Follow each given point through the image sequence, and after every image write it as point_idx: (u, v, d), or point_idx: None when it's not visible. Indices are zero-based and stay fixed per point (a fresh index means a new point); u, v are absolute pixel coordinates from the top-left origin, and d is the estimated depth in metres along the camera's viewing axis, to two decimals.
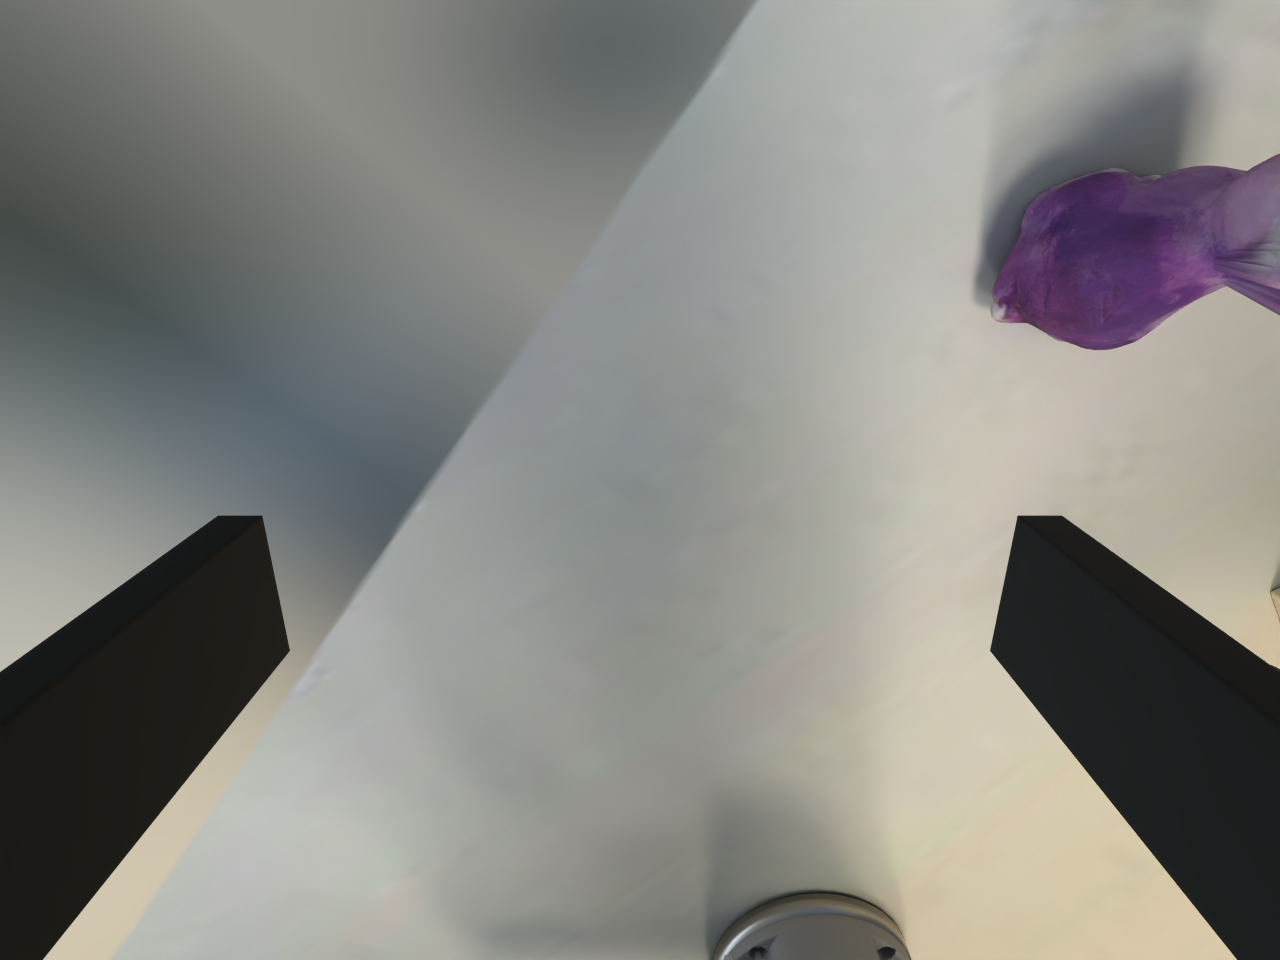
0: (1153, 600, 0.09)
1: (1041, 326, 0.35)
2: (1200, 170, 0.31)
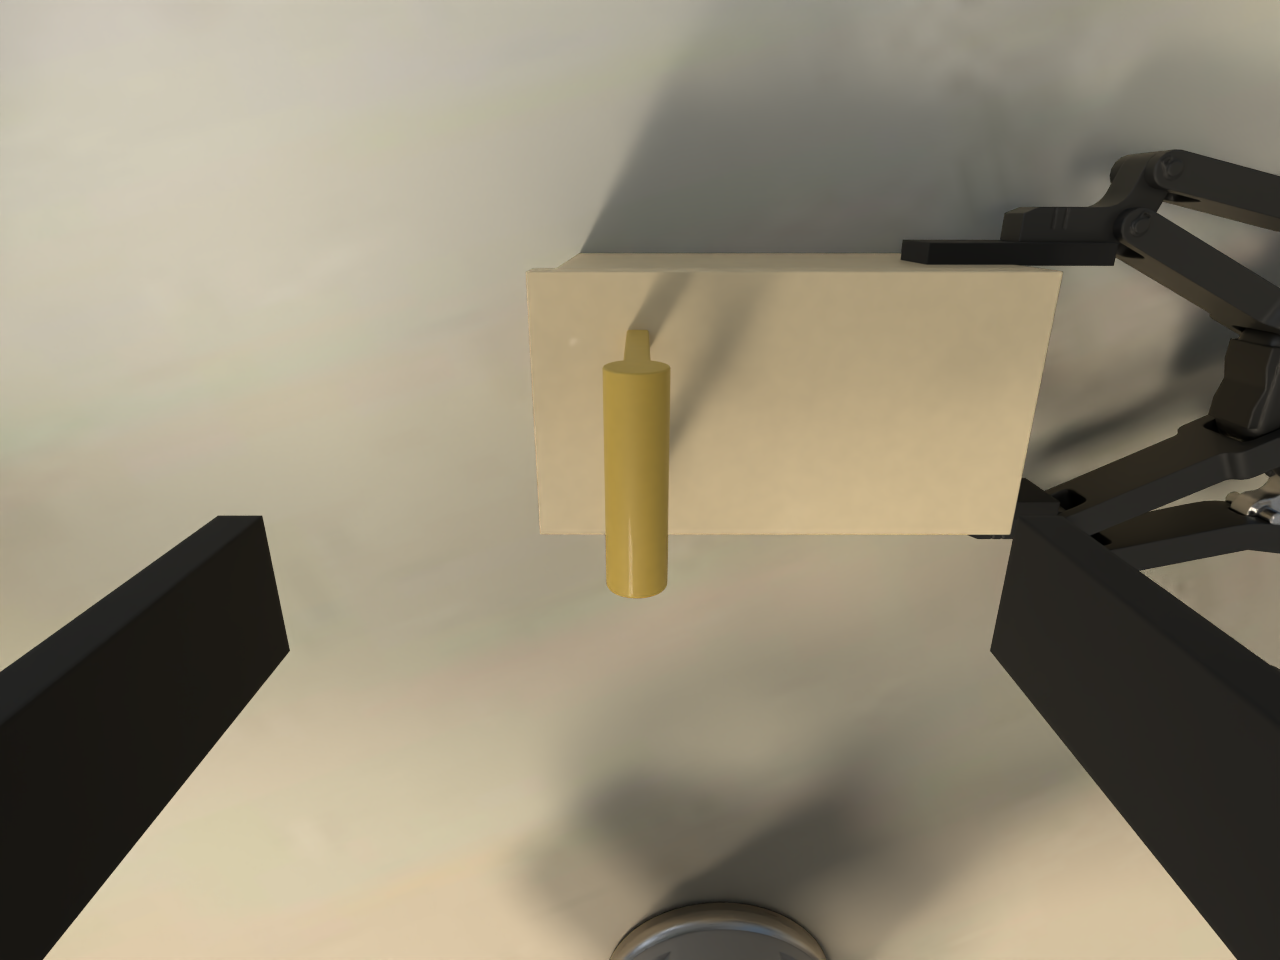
0: (1153, 600, 0.09)
1: None
2: None
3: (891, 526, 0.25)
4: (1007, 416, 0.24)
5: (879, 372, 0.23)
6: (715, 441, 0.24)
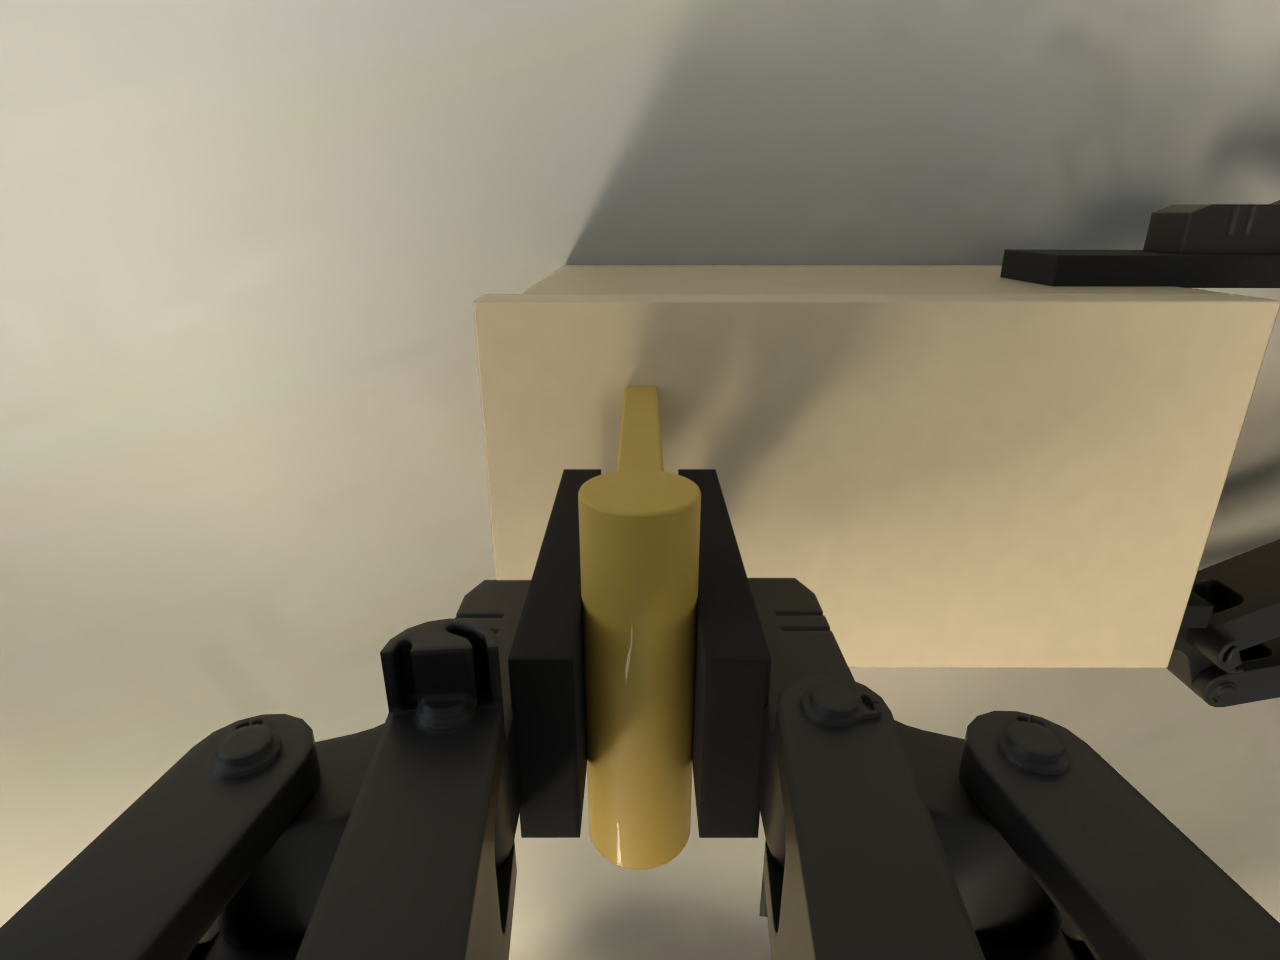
0: (709, 527, 0.12)
1: None
2: None
3: (1000, 657, 0.18)
4: (1178, 508, 0.16)
5: (995, 447, 0.16)
6: (752, 542, 0.17)
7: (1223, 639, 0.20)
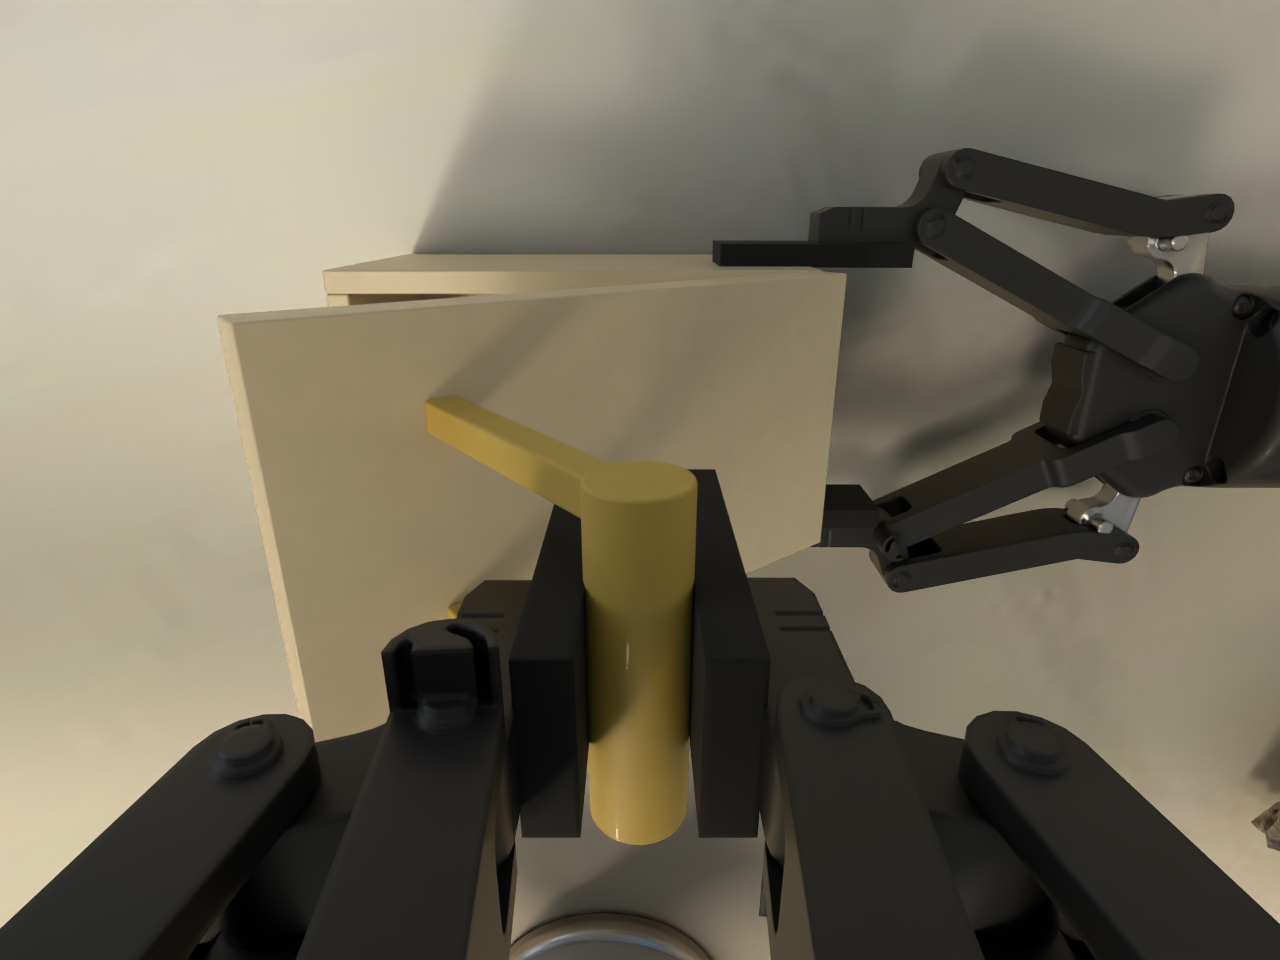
0: (709, 527, 0.12)
1: None
2: None
3: None
4: (815, 426, 0.22)
5: (716, 402, 0.19)
6: None
7: (886, 535, 0.27)
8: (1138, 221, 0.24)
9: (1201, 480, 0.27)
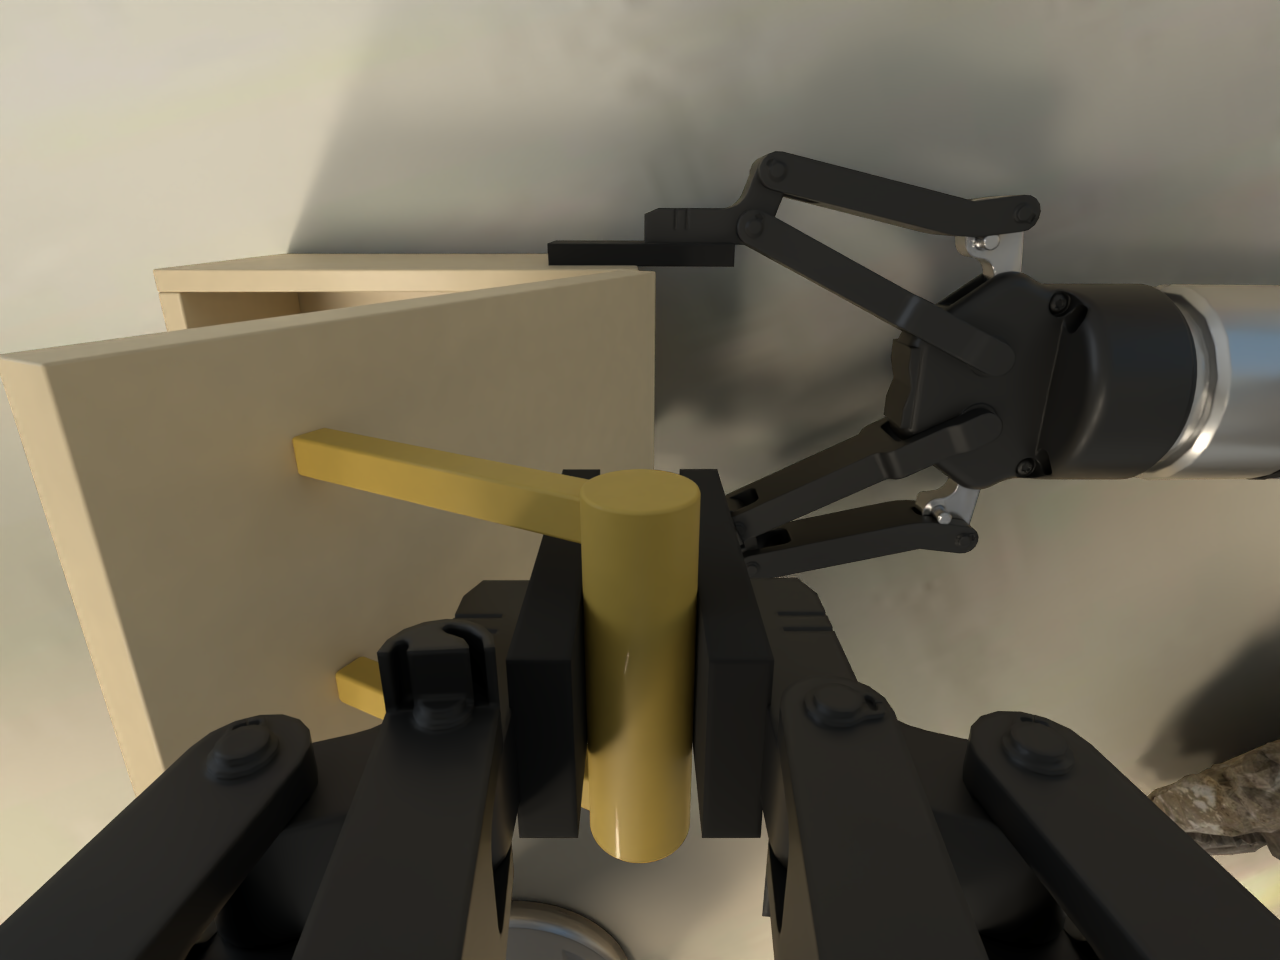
0: (711, 527, 0.12)
1: None
2: None
3: None
4: (642, 419, 0.23)
5: (565, 406, 0.19)
6: (437, 563, 0.16)
7: None
8: (949, 221, 0.24)
9: (1034, 472, 0.28)
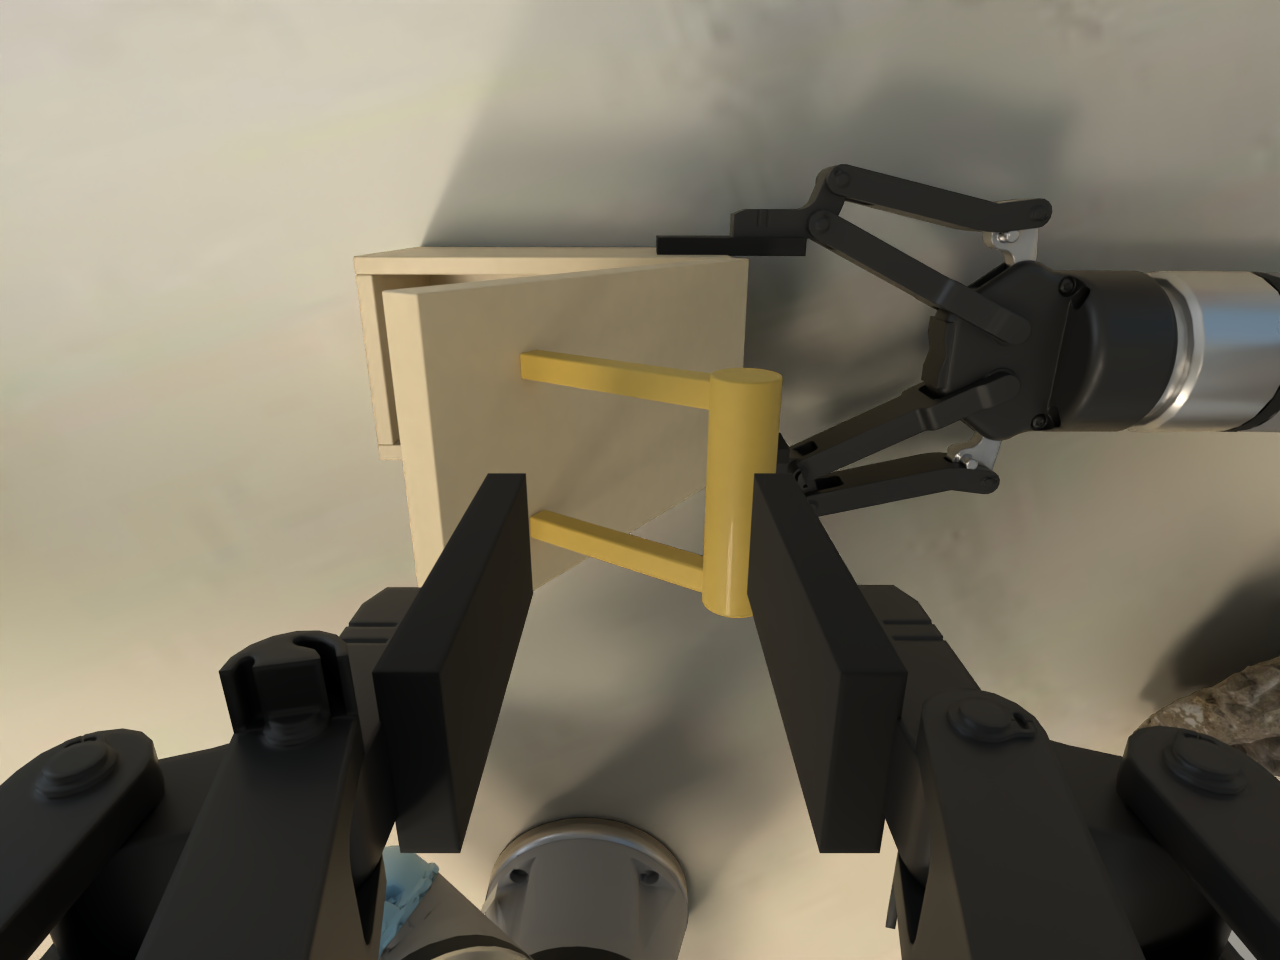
0: (804, 533, 0.11)
1: None
2: None
3: (690, 489, 0.28)
4: None
5: (678, 357, 0.26)
6: (591, 456, 0.22)
7: (795, 468, 0.34)
8: (978, 220, 0.31)
9: (1046, 426, 0.34)
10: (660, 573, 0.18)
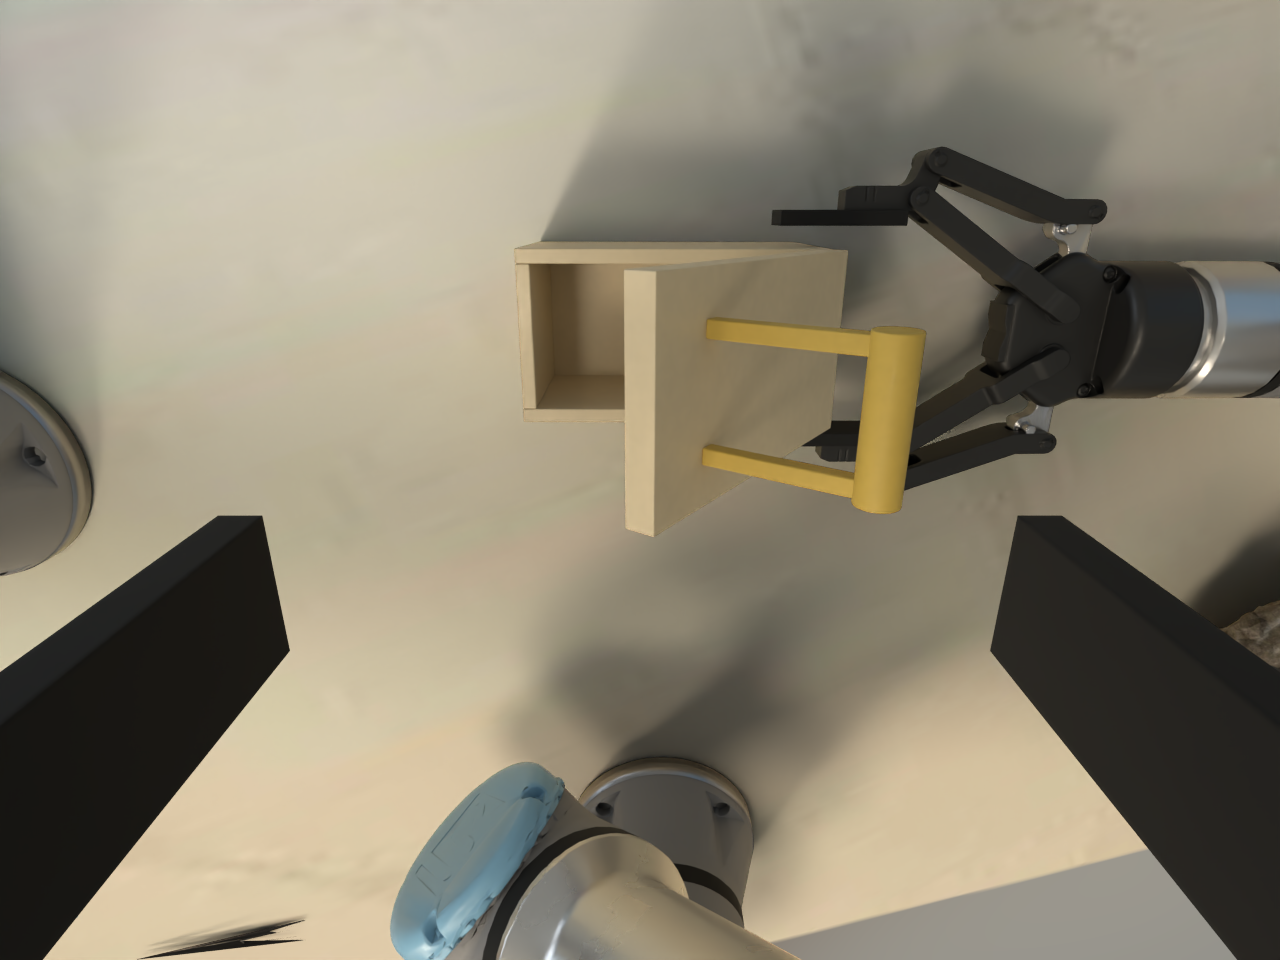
0: (1153, 600, 0.09)
1: None
2: None
3: (798, 441, 0.34)
4: None
5: None
6: (740, 405, 0.28)
7: None
8: (1046, 210, 0.36)
9: (1089, 393, 0.40)
10: (816, 485, 0.24)
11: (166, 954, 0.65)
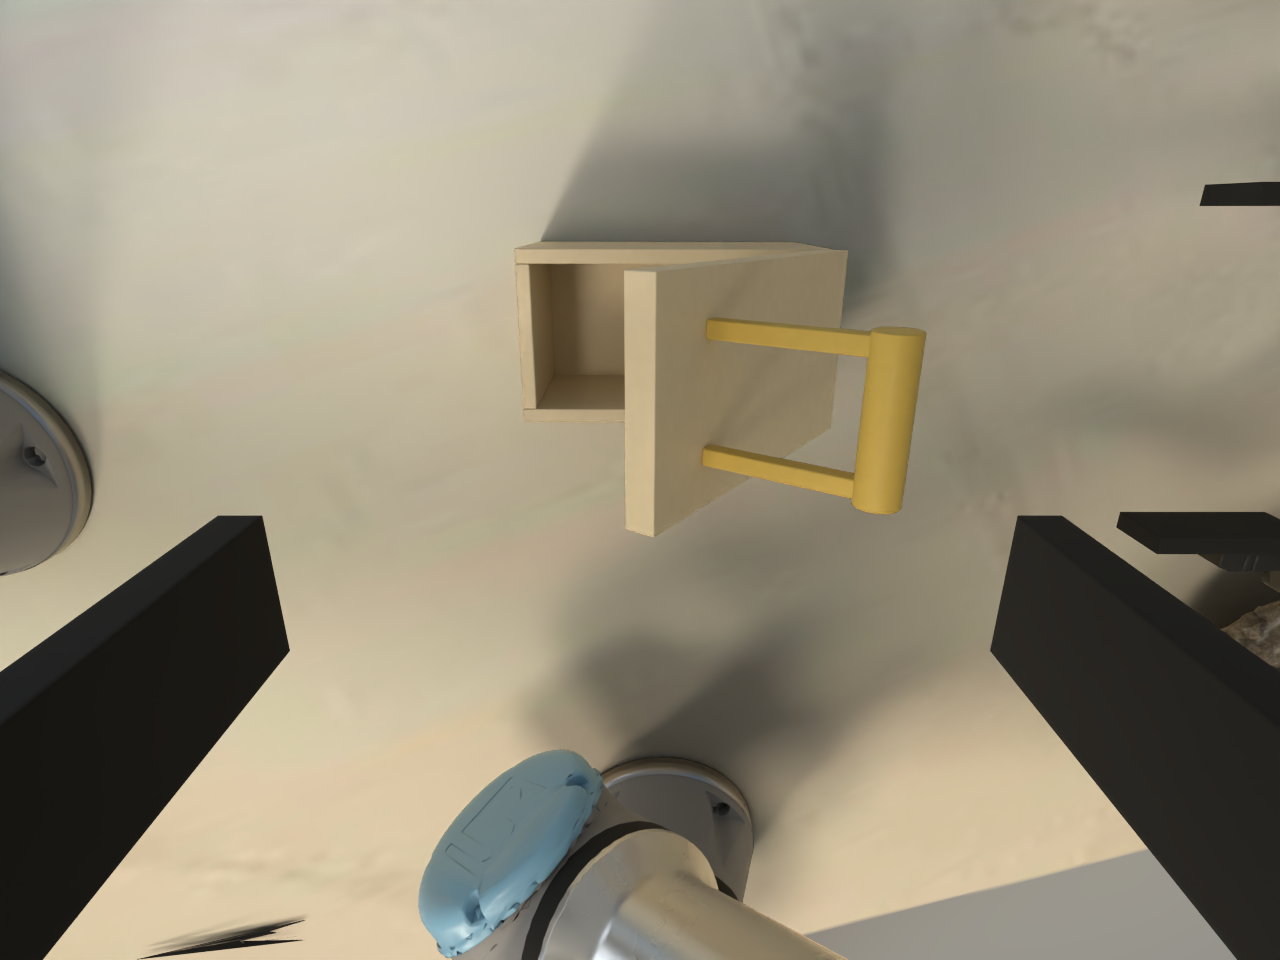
0: (1153, 600, 0.09)
1: None
2: None
3: (798, 441, 0.34)
4: None
5: None
6: (740, 405, 0.28)
7: None
8: None
9: None
10: (816, 485, 0.24)
11: (166, 954, 0.65)
